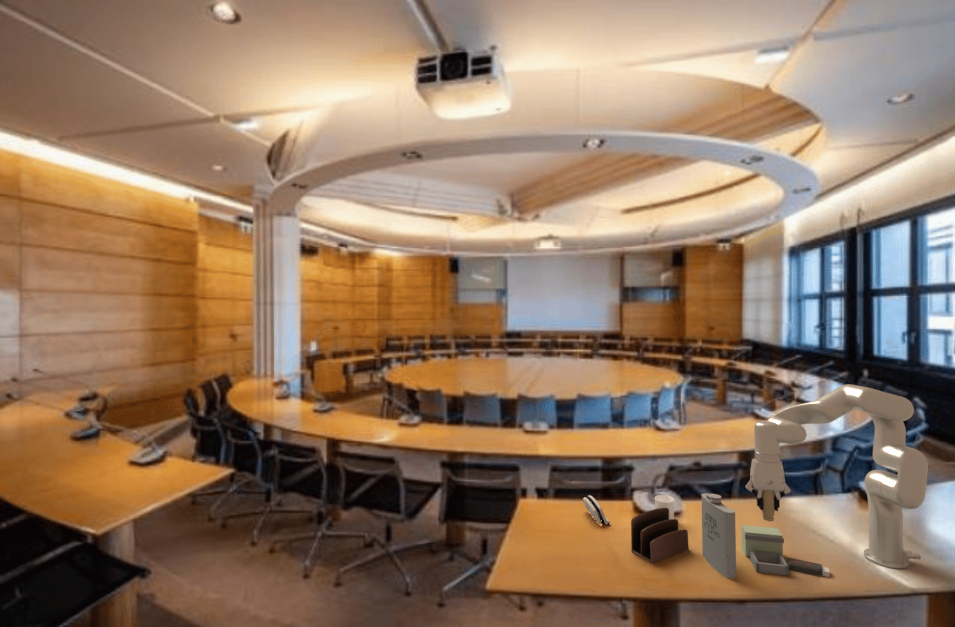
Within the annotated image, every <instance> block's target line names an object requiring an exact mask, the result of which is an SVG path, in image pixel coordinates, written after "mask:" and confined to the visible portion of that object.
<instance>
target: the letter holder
mask: <svg viewBox="0 0 955 627" xmlns="http://www.w3.org/2000/svg"><path fill="white" fill-rule="evenodd" d="M630 525H631V526H630V531H631V532H630V536H631V537H630V539H631V540H630V543H631V546H630V547H631V549H630V550H631V553H632V554H634V553H635V554H634V555H636V554H637V555H636V556H638V555H639V556H640V557H639V556H638V557H639V558H641V557H642V558H641V559H643V558H644V559H643V560H645V561H646V560H647V561H646V562H648V561H649V562H648V563H650V564H653V563H657V562H658V561H662V560H665V559H667V558H670V557H672V556H674V555H675V556H676V555H678V554H680V553H683V551H684V552H686V551H689V548H690V547H689V531H688V530H687V529H685V528H684V529H679V520H678V519H677V518H673V519H669V509H668V508H658V509H652V510H648V511H645V512H642V513H640V514H638V515H635V516H633V517H632V519H631V522H630Z"/></svg>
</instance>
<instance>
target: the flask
mask: <svg viewBox="0 0 955 627" xmlns="http://www.w3.org/2000/svg"><path fill="white" fill-rule="evenodd" d="M700 496H701V529H702V530H701V534H702V535H701V536H702V537H701V538H702V540H701V541H702V542H701V543H702V557H704V559H705V560H706V561H707V563H708V564H709V565H710V566H711V568H713V569H714V570H715V571H717V572H718V573H719V574H721V575H722V576H723V577H725V578H726V577H727V578H726V579H729V578H731V580H733V579H732V578H734V579H736V578H737V544H736V543H737V541H736V536H737V534H736V510H734V509H733V508H730V507H729V506H727V505H725V504H724V503H722V495H720V494H717V493H709V492H708V493H707V492H705V493H701V495H700Z"/></svg>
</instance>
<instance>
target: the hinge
mask: <svg viewBox="0 0 955 627" xmlns="http://www.w3.org/2000/svg"><path fill="white" fill-rule="evenodd" d="M582 501H583V504H584V507H585V509H587V510H588V511H589V512H590V513H591V515H592V516H593V517H594V518H595V520H596V521H597V522H598V523H599V524H602V523H605V524H606V525H607V524H608V523H610V524H611V521H610V520H609V519H608V518H607V516H605V513H604V511H603V508H602V507H601V505H600V504H599V503H598V501H597V500H596V498H594V497H593V496H592V495H590V494H589V495H587V496H586V497H585V496H584V497H583V498H582ZM587 510H586V511H587ZM591 515H590V516H591ZM595 520H594V521H595ZM601 520H602V521H601ZM596 521H595V522H596ZM597 522H596V523H597ZM605 524H604V525H605ZM608 525H609V524H608Z"/></svg>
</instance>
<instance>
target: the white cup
mask: <svg viewBox="0 0 955 627" xmlns="http://www.w3.org/2000/svg"><path fill="white" fill-rule="evenodd" d="M654 508H655V509H658V508H668V509H669V519H674V516H675V498H673V497H672V496H670V495H666V494H663V495H662V494H658V495H655V497H654Z"/></svg>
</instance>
